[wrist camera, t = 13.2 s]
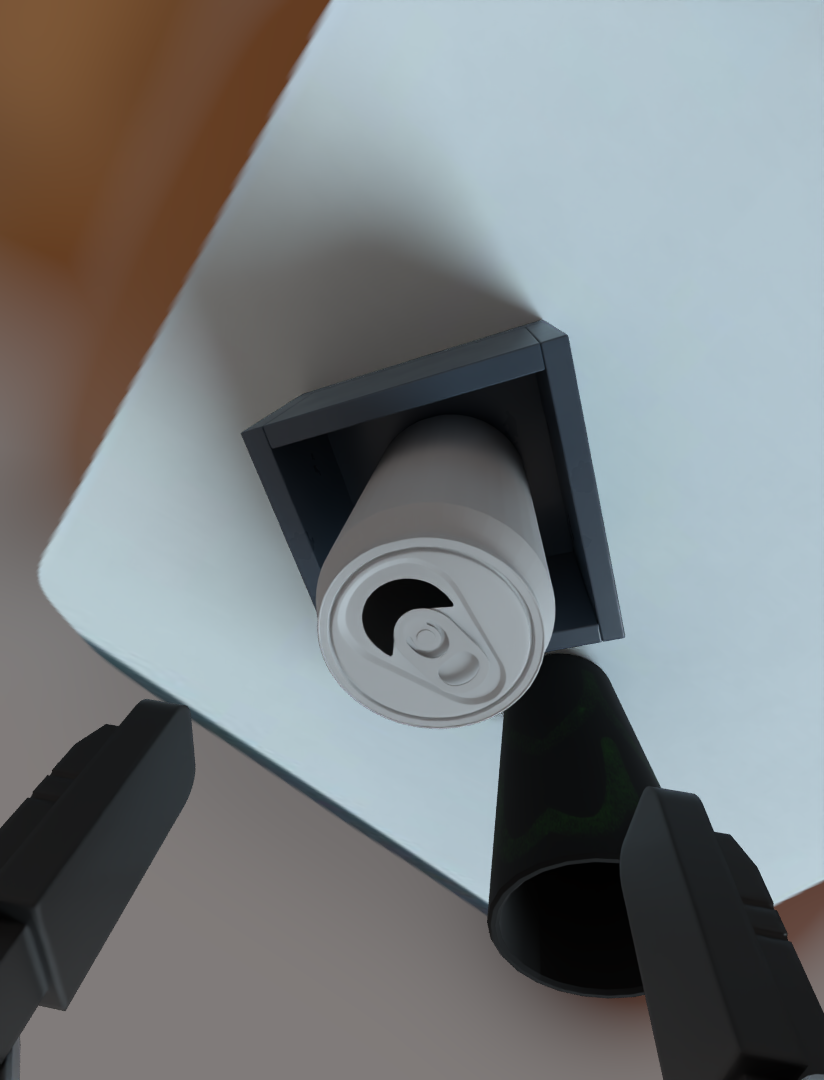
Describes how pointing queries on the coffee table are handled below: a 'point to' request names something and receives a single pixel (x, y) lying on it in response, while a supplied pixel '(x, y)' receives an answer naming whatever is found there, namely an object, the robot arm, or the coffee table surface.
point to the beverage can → (438, 580)
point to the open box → (452, 389)
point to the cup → (566, 832)
